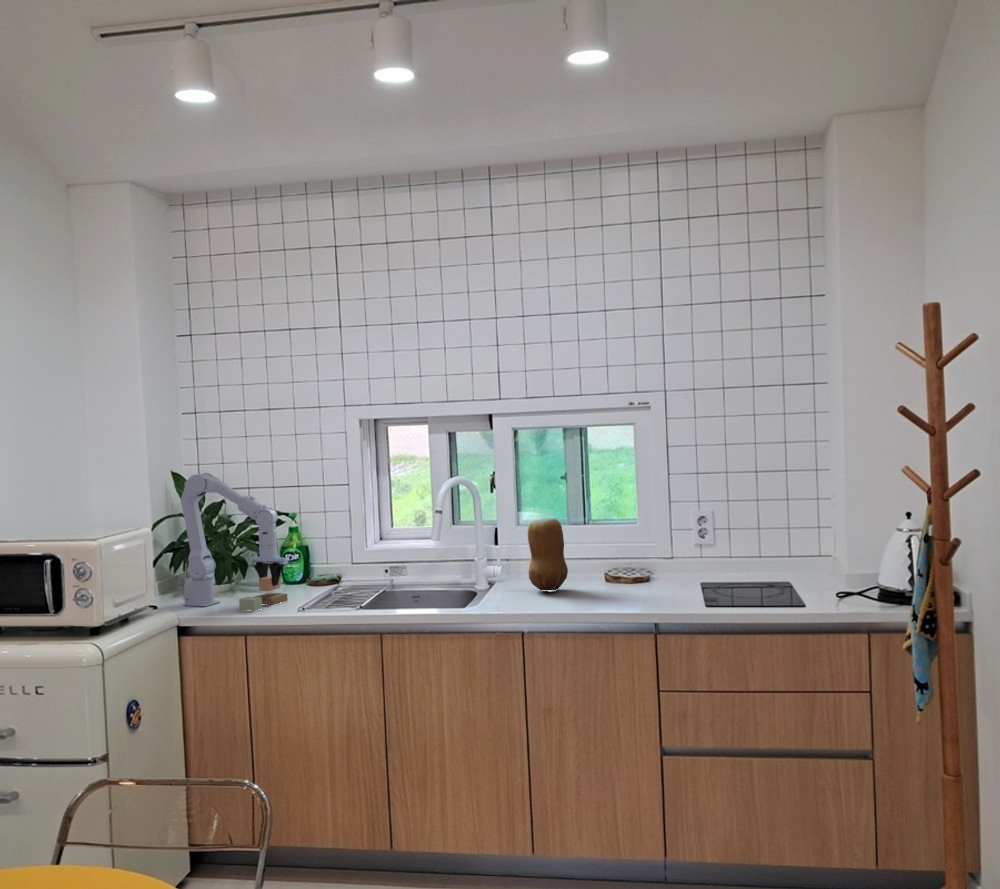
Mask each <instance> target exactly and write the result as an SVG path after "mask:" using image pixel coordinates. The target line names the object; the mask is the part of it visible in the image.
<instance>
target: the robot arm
mask: <svg viewBox="0 0 1000 889" xmlns="http://www.w3.org/2000/svg"><path fill="white" fill-rule="evenodd" d="M207 493H208V494H209V493H214V494H215V493H217V494H219V495H220V496H222V497H224V498H226V499H227V500H229V501H230V502H232V503H234V504H235V505H237V509H238V511H240V512H241V513H242V514H245V515H246V516H248V517H249V518H250V519H252V520H254V521H255V523H256V525H257V526H258V543H259V544H258V545H259V546H258V547H259V548H258V551H259V556H251V557H249V563H250V564H254V565H253V568H254V570H255V571H256V573H257V575H258V579H260V578H264V577H268V572H270V576H271V577H272V585H273V586H276V585H278V582H279V577H280V578H281V573H282V571H283V569H284V567H285V565H288V564H289V558H288V557H281V556H278V546H277V545H278V543H277V539H278V538H277V524H276V523H277V521H278V518H279V517H278V513H277V511H276V510H275V509H274V508H272V507H268V506H267V504H262V503H260V501H258V500H256V497H255V496H254V495H251V496H250V495H244V496H243V495H241V494H240V493H239V492H238V491H237V490H235V489H234V488H232V487H230V486H229V485H228V484H226V483H225V482H224V481H222V480H221V479H219V477H216V476H213V474H211V473H210V472H209V473H208V472H203V473H200V474H193V475H191V476H189V478H188V479H187V480H186V481H185V482H184V488H183V491H182V495H181V497H180V504H181V508H182V513H183V519H184V525H185V530H186V535H187V541H188V544H189V549H190V552H189V555H188V565H187V566H188V567H187V573H188V575H189V576H190V577H188V578H187V579H186V580H185V583H184V586H183V592H184V603H182V604H183V606H190V607H191V606H192V607H202V606H203V607H204V606H205V607H208V606H212V605H215V603H216V604H219V603H221V600H215V586H214V585H215V584H214V574H213V573H214V571H215V570H216V566H217V565H216V561H215V559H214V558H213V557H212V553H211V551H210V549H209V548H208V546H207V541H206V537H205V533H204V532H205V531H204V526H203V522H202V516H201V511H200V507H199V505H200V504H199V502H200V501H201V499H202V498H203V497H204V496H205V495H206V494H207ZM218 602H219V603H218Z"/></svg>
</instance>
